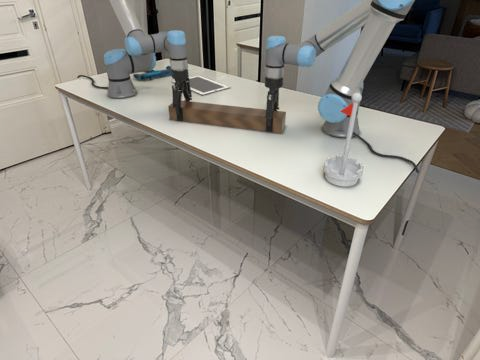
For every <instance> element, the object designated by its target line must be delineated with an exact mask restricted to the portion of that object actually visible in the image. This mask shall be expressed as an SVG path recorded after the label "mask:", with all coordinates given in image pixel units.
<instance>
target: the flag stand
mask: <svg viewBox="0 0 480 360" xmlns="http://www.w3.org/2000/svg"><path fill="white" fill-rule="evenodd" d="M362 98H363V96H362V95H361V94H360V93H354V94H353V95H352V101H353V103H352V104H351V105H349V106H348V107H346V108H345V109H343V110H342V111H340V112H342V113H344V114H346V115H349V116H350V121H349V127H348V132H347V137H346V138H345V143H344V149H343V154H336V155H335V157H332V156H327V157H326V158H325V161H324V162H323V166H322V169H323V171H324V173H325V174H324V178H325V180H327V182H329V183H330V184H333V185H335V186H338V187H352V186H354V185H357V183H358V182H359V179H360V178H361V177H362V176H363V174H364V168H365V167H364V163H363V162H358V161H357V160H358V159H357V158H355V157H354V156H349V152H350V147H351V142H352V138H353V137H352V132H353V127H354V122H355V117H356V112H357V107H358V102H360V103H361V101H362ZM348 157H349V158H348Z"/></svg>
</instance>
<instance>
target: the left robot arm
mask: <svg viewBox="0 0 480 360" xmlns="http://www.w3.org/2000/svg"><path fill="white" fill-rule="evenodd" d="M108 1H109V4H110V5H111V7H112V9H113V12H114V14H115V16H116V18H117V19H118V22H119V24H120V26H121V28H122V30H123V32H124V34H125V38H124V48H115V49H111V50H108V51H106V52H105V53H104V54H103V61H104V62H103V63H104V66H105V71H106V75H107V80H108V85H107V86H99V85H97V84H94V82H95V80H94V78H93V77H90V76H88V75H85V74H79V75H77V77H76V78H77V79H79V78H80V77H82V78H87V79H90V80H91V85H92V87H94V88H97V89H104V90H105V89H106V90H107V96H108V97H109V98H111V99H127V98H131V97H133V96H136V94H137V89H136V87H135V85H134V83H133V81H132V79H131V74H132V75H133V74H139V73H146V72H147V71H150V70H155V69H156V68H155V67H156V65H157V56H156V53H163V52H164V53H165V52H168V55H169V63H170V66H171V69H172V70H171V74H170V75H171V79H172V80H173V81H175V83H174V85H171V90H172V94H171V95H172V103H173V108H176V115H177V122H183V115H182V107H181V100H182V96H183V97H184V99H183V101H192V100H193V98H192V97H193V94H192V91H191V88H190V83H189V78H190V77H189V69H188V68H189V63H188V62H189V61H188V54H187V53H188V52H187V39H186V33H185V32H184V31H183V30H180V29H178V30H177V29H173V30H168V31H159V32H157V33H153V34H149V33H148V32H149V31H148V15H147V0H108Z"/></svg>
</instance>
